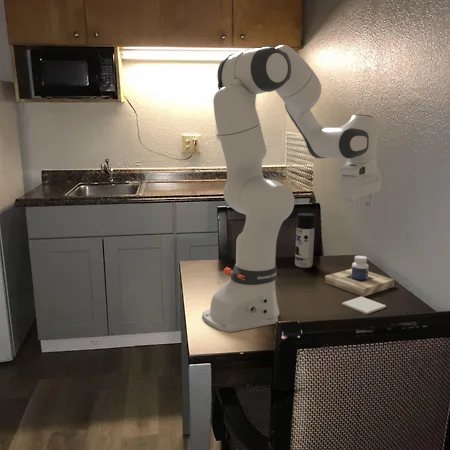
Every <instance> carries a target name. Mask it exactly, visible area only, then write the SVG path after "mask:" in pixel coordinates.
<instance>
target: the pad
mask: <svg viewBox="0 0 450 450" xmlns="http://www.w3.org/2000/svg"><path fill="white" fill-rule="evenodd" d="M341 305H342V306H345V307H348V308H350V309H353V310H354V311H357V312H358V313H359V312H360V313H362V314H364V315H369V314H371V313H374V312H377V311H380V310H383V309H385V308H386V307H387V305H386V304H382V303H380V302H377V301H375V300H372V299H369V298H366V297H365V296H364V297H362V296H358V297H355V298H352V299H349V300H346V301H344V302H341Z"/></svg>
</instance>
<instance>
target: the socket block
mask: <svg viewBox="0 0 450 450" xmlns="http://www.w3.org/2000/svg"><path fill="white" fill-rule="evenodd" d="M351 274H352V268H350V269H349V268H348V269H346V270H342V271H338V272H335V273H330V274H327V275H325V276H324V283H325V284H328V285H331V286H333V287H336V288H338V289H341V290H343V291H346V292H348V293H349V292H350V293H352V294H355V295H357V296H359V297H361V296H362V297H364V298H365V297H367V296H369V295H372V294H376V293H379V292H382V291H386V290H388V289H391V288H394V286H395V279H394V278H390V277H387V276H385V275H380V274H378V273H374V272H372V271H369V270H368V281H365V282H358V281H355V280H352V279H351Z"/></svg>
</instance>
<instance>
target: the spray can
mask: <svg viewBox="0 0 450 450" xmlns="http://www.w3.org/2000/svg"><path fill="white" fill-rule="evenodd" d="M296 218H297V219H296V234H295V257H294V258H295V259H294V264H295V265H294V266H296V267H297V268H302V269H309V268H312V267H313V263H314V262H313V261H314V247H315V246H314V244H315V227H316V226H315V225H316V224H315V223H316V214H315V213H311V212H299V213H297V215H296Z"/></svg>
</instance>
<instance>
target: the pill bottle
mask: <svg viewBox="0 0 450 450" xmlns="http://www.w3.org/2000/svg"><path fill="white" fill-rule="evenodd" d="M367 262H368V257H367V256H364V255H355V256H354V262H352V264H351V269H352V274H351V279H352V280H355V281H358V282H365V281H368V271H369V268H370V267H369V264H368V263H367Z"/></svg>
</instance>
